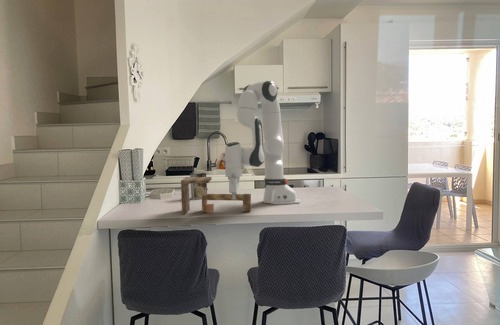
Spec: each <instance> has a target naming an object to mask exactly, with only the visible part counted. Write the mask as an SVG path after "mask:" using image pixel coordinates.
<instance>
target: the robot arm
mask: <svg viewBox="0 0 500 325" xmlns="http://www.w3.org/2000/svg"><path fill="white" fill-rule="evenodd" d="M242 90H243V91H242V92H241V93H240V96H239V100H238V102H237V103H238V104H237V112H236V117H237V121H238V123H240V124H241V125H242V126H244V127H247V128H248V129H250V130H251V131H252V141H253V142H252V143H253V146H252V147H250V148H249V147H243V146H242V145H241V143H240V142H237V141H234V142H229V143H227V144H226V145H225V148H224V149H225V150H224V161H225V168H224V170H225V172H224V173H225V177H226V178H227V180H228V193H229V194H232V199H233V200H232V201H235V199H236V194H238V189H239V185H240V179H241V177H242V176H243V166H247V167H248V166H249V167H255V168H259V167H261V166H262V165H263V164H264V179H263V185H264V192H263V198H262V203H264V204H270V205H288V204H289V205H290V204H291V205H292V204H293V205H294V204H300V203H301V199H300V198H299V197H298V196H297V191H296V190H295V189H293V188H292V187H291V186H289V185H288V183H289V180H288V179H287V178H284V160H283V159H284V158H283V152H284V150H285V142H284V141H285V140H284V139H285V138H284V133H283V132H284V131H283V128H282V127H283V125H282V116H281V114H282V113H281V107H280V102H279V98H278V87H277V85H276V83H275V82H274V81H271V80H266V81H258V82H255V83H252V84H248V85H246V86H244V88H243V89H242ZM259 103H260V105H261V119H259V117H258V109H259V108H258V106H259V105H258V104H259Z"/></svg>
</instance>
